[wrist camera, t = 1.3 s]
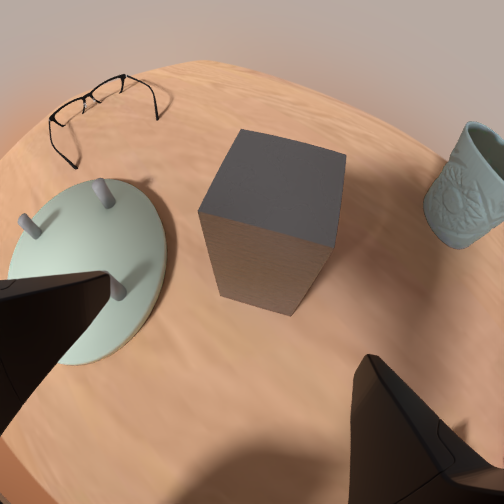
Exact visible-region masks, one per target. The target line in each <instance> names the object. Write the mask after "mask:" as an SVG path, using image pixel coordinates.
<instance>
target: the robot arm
mask: <svg viewBox="0 0 504 504" xmlns="http://www.w3.org/2000/svg"><path fill="white" fill-rule="evenodd" d="M110 295H111V281H110V275H109V274H108V273H105V272H103V271H100V270H99V271H89V272H79V273H69V274H59V275H49V276H39V277H29V278H19V279H9V280H0V436H1V435H2V433H3V432H4V431H5V429H6V428H7V426H8V425H9V424H10V422H11V421H12V419H13V418H14V417H15V415H16V414H17V413H18V411H19V410H20V409H21V407H22V406H23V405H24V403H25V402H26V401H27V399H28V398H29V397H30V396H31V394H32V393H33V392H34V390H35V389H36V388H37V387H38V385H39V384H40V383H41V382H42V381H43V379H44V378H45V377H46V376H47V375H48V373H49V372H50V371H51V370H52V369H53V367H54V366H55V365H56V364H57V363H58V361H59V360H60V359H61V358H62V357H63V356H64V355H65V353H66V352H67V351H68V350H69V349H70V348H71V347H72V345H73V344H74V343H75V342H76V341H77V340H78V339H79V338H80V337H81V335H82V334H83V333H84V332H85V331H86V330H87V329H88V327H89V326H90V325H91V323H92V322H93V321H94V319H95V318H96V317H97V315H98V314H99V313H100V311H101V310H102V309H103V307H104V306H105V305H106V304H107V302H108V301H109V299H110ZM350 426H351V455H350V485H349V501H348V504H504V469H501V468H497V467H494V466H493V465H491V464H489V463H488V462H487V461H486V460H484V459H483V458H482V457H481V456H480V455H479V454H478V453H476V452H475V451H474V450H473V449H472V448H471V447H470V446H468V445H467V444H466V443H465V442H464V441H463V440H462V439H461V438H460V437H458V436H457V435H456V434H455V433H454V432H453V431H452V430H451V429H450V428H449V427H448V426H447V425H446V424H445V423H444V422H443V421H442V420H441V419H439V417H438V416H437V415H436V414H435V413H434V412H433V410H432V409H431V408H430V407H429V406H428V405H427V404H426V403H425V402H424V401H423V400H422V399H421V398H420V397H419V396H418V395H417V394H416V393H415V392H414V391H413V390H412V389H411V388H410V387H409V386H408V385H407V384H406V383H405V382H404V381H403V380H402V379H401V378H400V377H399V376H398V375H397V374H396V373H395V372H394V371H393V370H392V369H391V368H390V367H389V366H388V365H387V364H386V363H385V362H384V361H383V360H382V359H381V358H380V357H379V356H377V355H372V354H367V355H365V356H364V358H363V360H362V361H361V363H360V365H359V367H358V368H357V370H356V372H355V374H354V378H353V392H352V404H351V416H350ZM0 504H11V503H10V502H9V501H8V500H7V499H6V498H5V497H4V496H3V495H2V494H1V493H0Z"/></svg>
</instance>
